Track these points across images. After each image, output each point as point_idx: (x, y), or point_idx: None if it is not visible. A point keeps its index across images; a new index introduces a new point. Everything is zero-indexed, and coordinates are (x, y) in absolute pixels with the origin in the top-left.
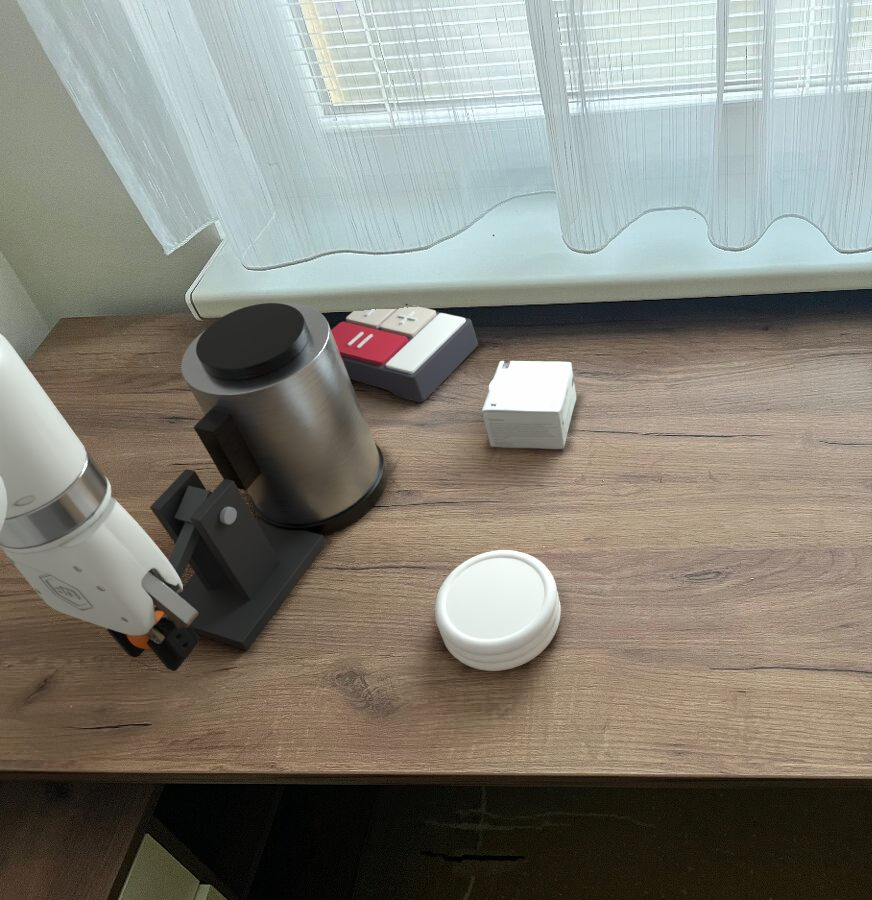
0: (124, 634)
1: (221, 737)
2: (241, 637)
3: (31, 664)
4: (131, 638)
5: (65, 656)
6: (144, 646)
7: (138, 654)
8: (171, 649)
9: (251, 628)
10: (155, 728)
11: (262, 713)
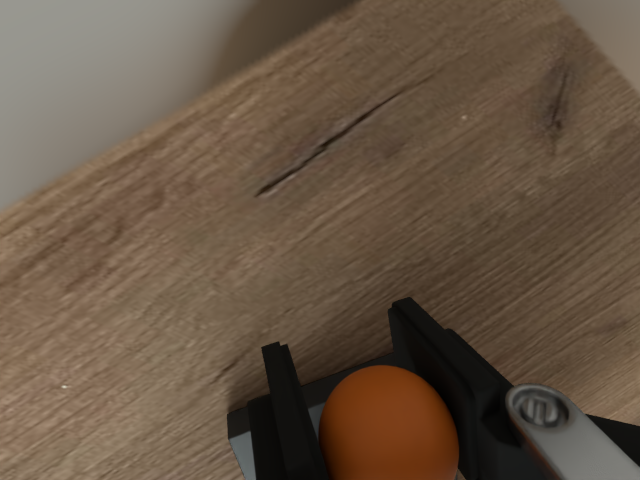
0: (441, 377)
1: (59, 277)
2: (241, 442)
3: (609, 131)
4: (394, 411)
5: (558, 183)
6: (345, 399)
7: (391, 314)
8: (268, 431)
9: (240, 465)
10: (236, 195)
11: (36, 368)
